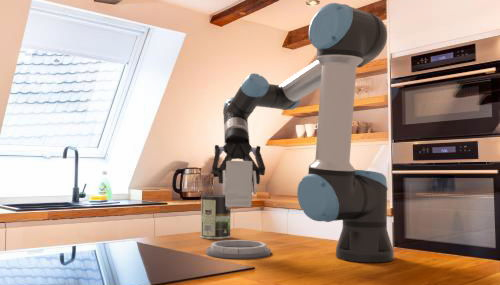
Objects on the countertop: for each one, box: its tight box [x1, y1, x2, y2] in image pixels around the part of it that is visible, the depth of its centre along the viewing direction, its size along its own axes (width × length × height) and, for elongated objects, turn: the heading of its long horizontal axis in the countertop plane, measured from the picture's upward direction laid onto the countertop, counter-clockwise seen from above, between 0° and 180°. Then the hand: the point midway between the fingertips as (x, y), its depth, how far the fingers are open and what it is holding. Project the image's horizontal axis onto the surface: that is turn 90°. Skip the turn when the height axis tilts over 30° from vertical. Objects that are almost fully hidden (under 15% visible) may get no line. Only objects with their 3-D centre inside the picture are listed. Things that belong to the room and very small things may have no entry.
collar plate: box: [205, 239, 272, 260], centre depth 137 cm, size 18×18×2 cm
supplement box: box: [225, 160, 253, 208], centre depth 138 cm, size 7×7×13 cm
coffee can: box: [200, 194, 232, 240], centre depth 168 cm, size 10×10×14 cm
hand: (239, 190), depth 134 cm, fingers closed on supplement box, 8 cm apart
